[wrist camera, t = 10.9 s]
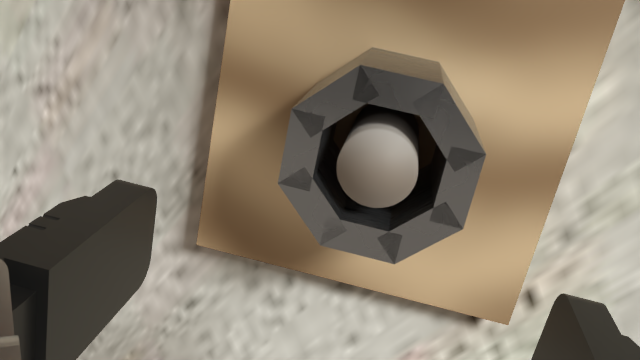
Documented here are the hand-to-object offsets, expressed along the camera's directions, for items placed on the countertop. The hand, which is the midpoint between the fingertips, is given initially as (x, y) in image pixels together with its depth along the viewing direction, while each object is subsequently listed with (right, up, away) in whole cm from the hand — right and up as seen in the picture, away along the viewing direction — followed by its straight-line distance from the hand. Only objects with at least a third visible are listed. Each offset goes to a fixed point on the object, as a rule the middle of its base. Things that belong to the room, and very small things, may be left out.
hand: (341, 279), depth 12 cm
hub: (+2, +4, +12) cm, 13 cm away
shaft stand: (+2, +4, +13) cm, 14 cm away
